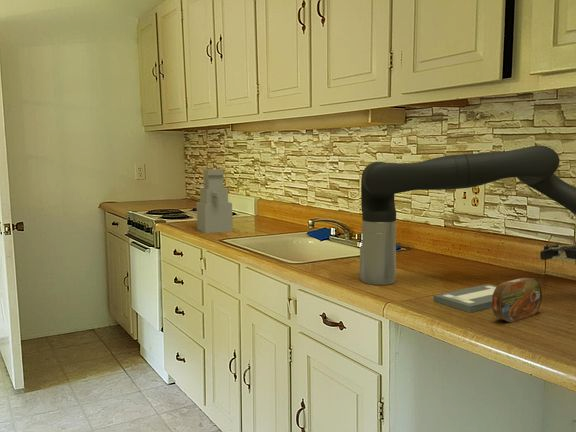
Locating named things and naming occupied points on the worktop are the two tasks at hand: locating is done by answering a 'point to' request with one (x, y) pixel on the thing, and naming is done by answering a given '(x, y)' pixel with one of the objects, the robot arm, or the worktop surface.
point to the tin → (517, 299)
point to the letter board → (468, 298)
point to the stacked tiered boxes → (214, 204)
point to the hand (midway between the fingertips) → (559, 258)
